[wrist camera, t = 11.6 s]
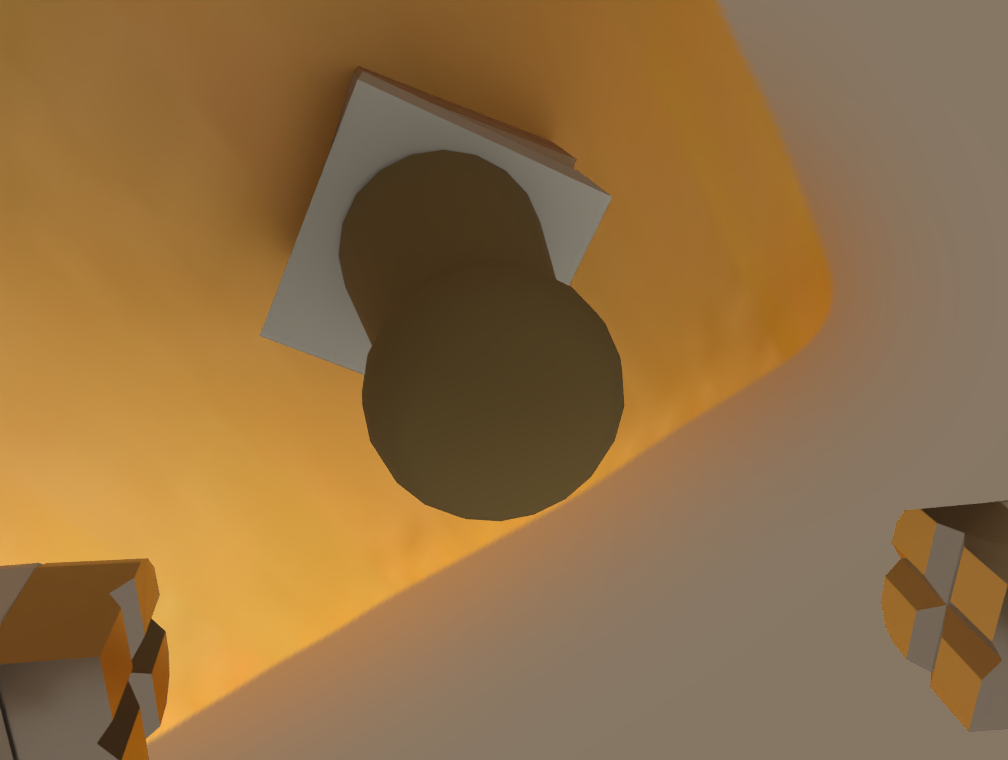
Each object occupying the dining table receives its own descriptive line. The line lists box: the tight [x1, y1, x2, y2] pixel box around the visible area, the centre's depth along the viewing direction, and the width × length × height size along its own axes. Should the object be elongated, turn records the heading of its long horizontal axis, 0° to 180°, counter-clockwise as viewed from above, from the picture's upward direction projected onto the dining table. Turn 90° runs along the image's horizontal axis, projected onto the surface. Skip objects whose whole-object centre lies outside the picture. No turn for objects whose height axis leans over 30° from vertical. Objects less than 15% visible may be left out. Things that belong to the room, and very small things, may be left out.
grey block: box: [260, 71, 612, 375], centre depth 28 cm, size 8×8×5 cm
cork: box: [338, 150, 624, 521], centre depth 21 cm, size 6×6×11 cm
